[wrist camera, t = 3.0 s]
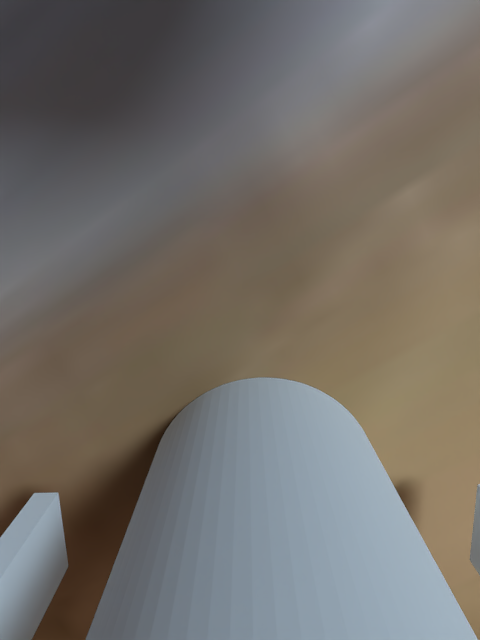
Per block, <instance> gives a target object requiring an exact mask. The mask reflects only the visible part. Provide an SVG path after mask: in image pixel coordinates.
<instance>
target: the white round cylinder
mask: <svg viewBox="0 0 480 640" xmlns="http://www.w3.org/2000/svg"><path fill="white" fill-rule="evenodd" d="M86 640H478V639H477V637H476V635H475V634H474V632H473V630H472V628H471V626H470V624H469V623H468V621H467V619H466V617H465V615H464V614H463V612H462V610H461V608H460V606H459V604H458V603H457V601H456V599H455V597H454V595H453V593H452V592H451V590H450V588H449V586H448V584H447V582H446V581H445V579H444V577H443V575H442V573H441V571H440V570H439V568H438V566H437V564H436V562H435V560H434V559H433V557H432V555H431V553H430V551H429V550H428V548H427V546H426V544H425V542H424V540H423V539H422V537H421V535H420V533H419V531H418V529H417V528H416V526H415V524H414V522H413V520H412V518H411V517H410V515H409V513H408V511H407V509H406V507H405V506H404V504H403V502H402V500H401V498H400V497H399V495H398V493H397V491H396V489H395V487H394V486H393V484H392V482H391V480H390V478H389V476H388V475H387V473H386V471H385V469H384V467H383V465H382V464H381V462H380V460H379V458H378V456H377V454H376V453H375V451H374V449H373V447H372V445H371V444H370V442H369V440H368V438H367V436H366V434H365V433H364V431H363V429H362V428H361V426H360V425H359V423H358V422H357V421H356V419H355V418H354V417H353V416H352V415H351V413H350V412H349V411H348V410H347V409H346V408H344V407H343V406H342V405H341V404H340V403H339V402H337V401H336V400H335V399H333V398H332V397H330V396H329V395H327V394H325V393H323V392H322V391H320V390H318V389H315V388H313V387H311V386H308V385H306V384H303V383H299V382H296V381H291V380H286V379H279V378H250V379H244V380H238V381H234V382H230V383H227V384H224V385H221V386H219V387H216V388H214V389H212V390H210V391H208V392H206V393H204V394H203V395H201V396H199V397H198V398H196V399H195V400H194V401H192V402H191V403H190V404H188V405H187V406H186V407H185V408H184V409H183V410H182V411H181V412H180V413H179V414H178V415H177V416H176V417H175V418H174V420H173V421H172V422H171V424H170V425H169V426H168V428H167V429H166V431H165V433H164V435H163V437H162V439H161V441H160V443H159V446H158V448H157V451H156V454H155V456H154V459H153V462H152V464H151V467H150V470H149V472H148V475H147V478H146V480H145V483H144V486H143V488H142V491H141V494H140V496H139V499H138V502H137V504H136V507H135V510H134V512H133V515H132V518H131V520H130V523H129V525H128V528H127V531H126V533H125V536H124V539H123V541H122V544H121V547H120V549H119V552H118V555H117V557H116V560H115V563H114V565H113V568H112V571H111V573H110V576H109V579H108V581H107V584H106V587H105V589H104V592H103V595H102V597H101V600H100V603H99V605H98V608H97V611H96V613H95V616H94V619H93V621H92V624H91V627H90V629H89V632H88V635H87V637H86Z"/></svg>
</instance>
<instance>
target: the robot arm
mask: <svg viewBox="0 0 480 640" xmlns="http://www.w3.org/2000/svg"><path fill="white" fill-rule="evenodd" d="M470 561H471V563H472V564H473V566H474V567H475V569H476V570H477V572H478V573H479V575H480V485H478V486H477V496H476V505H475V514H474V524H473V533H472V543H471V552H470ZM67 568H68V559H67V552H66V545H65V537H64V530H63V523H62V516H61V509H60V502H59V495H58V493H34V494H33V495H32V497H31V498H30V499H29V500H28V502H27V503H26V504H25V506H24V507H23V508H22V510H21V511H20V512H19V514H18V515H17V516H16V518H15V519H14V520H13V522H12V523H11V524H10V526H9V527H8V528H7V529H6V531H5V532H4V533H3V535H2V536H1V537H0V640H32V638H33V636H34V634H35V632H36V630H37V628H38V626H39V624H40V622H41V620H42V618H43V616H44V614H45V612H46V610H47V608H48V606H49V604H50V602H51V600H52V598H53V596H54V594H55V592H56V590H57V588H58V586H59V584H60V582H61V580H62V578H63V576H64V574H65V572H66V570H67Z"/></svg>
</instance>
